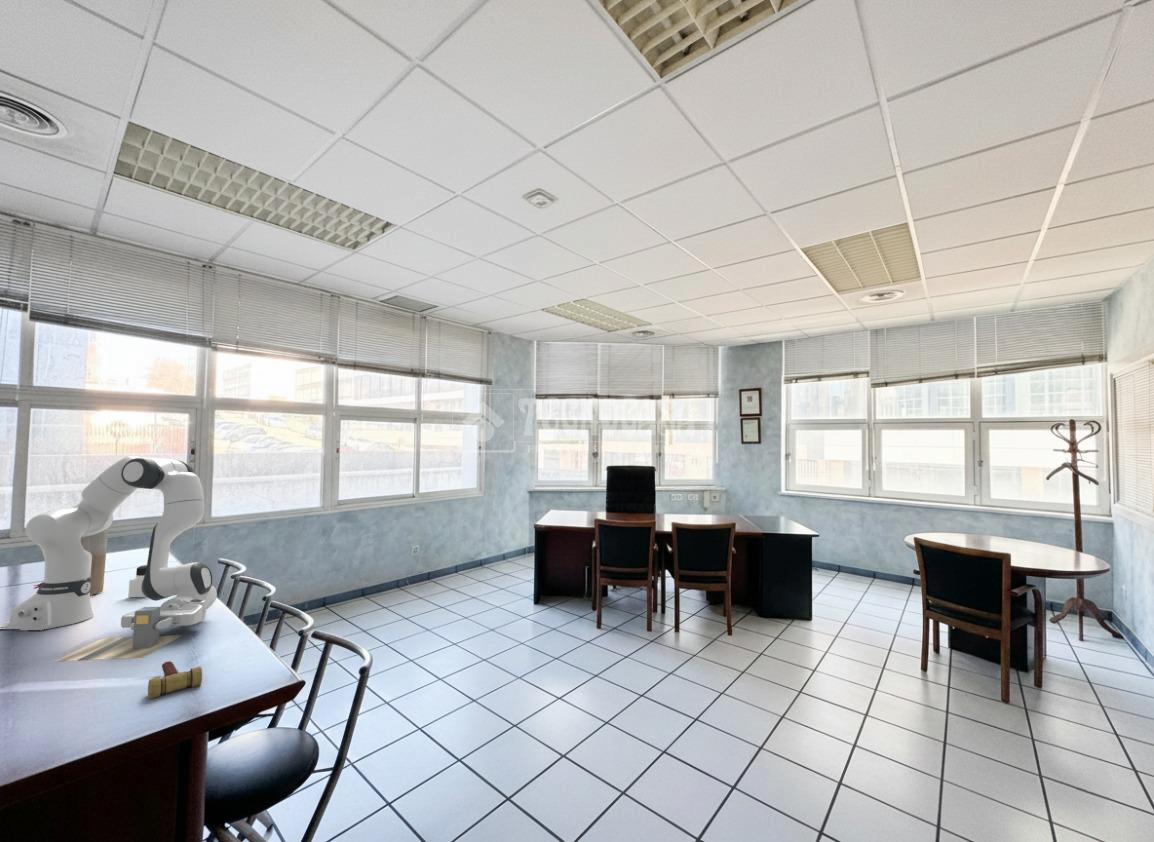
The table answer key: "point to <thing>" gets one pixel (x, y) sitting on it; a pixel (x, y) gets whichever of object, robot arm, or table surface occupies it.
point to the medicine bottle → (137, 583)
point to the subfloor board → (115, 649)
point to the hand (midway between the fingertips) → (144, 626)
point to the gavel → (173, 680)
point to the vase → (96, 558)
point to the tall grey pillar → (145, 628)
